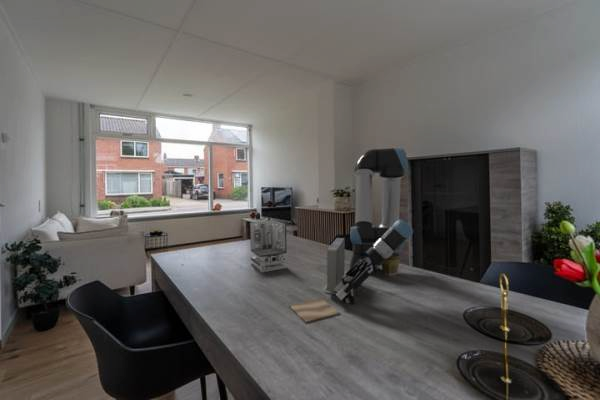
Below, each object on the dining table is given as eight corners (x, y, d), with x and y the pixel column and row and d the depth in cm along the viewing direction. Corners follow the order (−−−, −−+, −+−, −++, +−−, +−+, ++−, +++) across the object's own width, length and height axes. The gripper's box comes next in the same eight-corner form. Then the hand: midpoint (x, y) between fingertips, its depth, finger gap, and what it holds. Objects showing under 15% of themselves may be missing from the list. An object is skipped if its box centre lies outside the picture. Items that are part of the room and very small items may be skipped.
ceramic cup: (402, 276, 138) (403, 257, 137) (382, 277, 138) (382, 257, 137) (394, 268, 151) (394, 250, 150) (376, 268, 151) (376, 250, 150)
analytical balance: (276, 261, 169) (275, 220, 167) (289, 269, 152) (288, 224, 150) (251, 265, 161) (250, 222, 160) (262, 274, 145) (261, 227, 143)
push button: (336, 303, 109) (336, 277, 109) (341, 298, 114) (341, 274, 113) (353, 306, 106) (353, 280, 106) (357, 301, 111) (357, 276, 110)
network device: (341, 298, 114) (341, 250, 112) (320, 295, 116) (320, 248, 115) (348, 277, 138) (349, 238, 137) (331, 275, 141) (331, 237, 139)
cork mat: (289, 306, 107) (289, 305, 107) (320, 299, 113) (320, 298, 113) (305, 323, 94) (305, 321, 94) (340, 314, 100) (340, 312, 100)
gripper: (393, 266, 100) (348, 311, 101) (378, 253, 118) (340, 291, 119) (379, 252, 99) (333, 297, 100) (366, 241, 118) (328, 279, 119)
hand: (337, 294), depth 110 cm, fingers closed on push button, 5 cm apart
